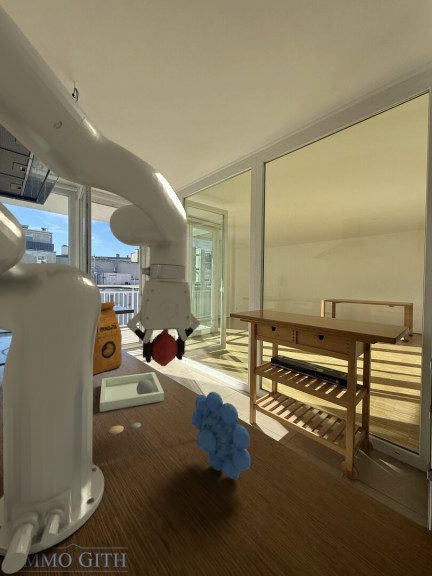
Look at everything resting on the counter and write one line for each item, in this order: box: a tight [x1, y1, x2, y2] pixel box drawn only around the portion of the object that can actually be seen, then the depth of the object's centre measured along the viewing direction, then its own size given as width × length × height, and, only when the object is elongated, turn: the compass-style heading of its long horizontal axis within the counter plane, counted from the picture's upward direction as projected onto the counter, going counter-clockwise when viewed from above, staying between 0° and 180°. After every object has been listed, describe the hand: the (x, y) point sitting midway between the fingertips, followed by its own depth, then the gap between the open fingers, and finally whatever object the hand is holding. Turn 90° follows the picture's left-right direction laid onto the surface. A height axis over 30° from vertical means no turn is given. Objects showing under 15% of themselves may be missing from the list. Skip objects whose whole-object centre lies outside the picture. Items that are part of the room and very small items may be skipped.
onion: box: [150, 330, 178, 367], centre depth 52 cm, size 6×6×8 cm
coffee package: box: [93, 301, 123, 375], centre depth 78 cm, size 10×12×22 cm
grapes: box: [191, 391, 252, 480], centre depth 38 cm, size 12×7×12 cm, turn 49°
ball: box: [136, 379, 153, 395], centre depth 61 cm, size 4×4×4 cm
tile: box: [108, 422, 142, 435], centre depth 48 cm, size 6×8×1 cm
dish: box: [99, 371, 165, 413], centre depth 62 cm, size 14×14×2 cm
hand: (163, 358), depth 52 cm, fingers closed on onion, 5 cm apart
